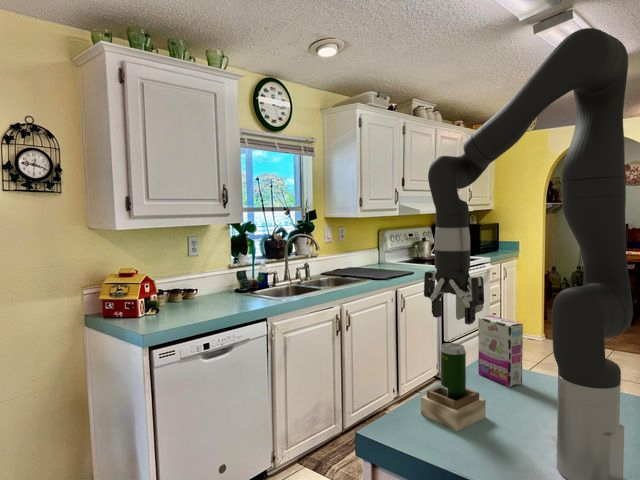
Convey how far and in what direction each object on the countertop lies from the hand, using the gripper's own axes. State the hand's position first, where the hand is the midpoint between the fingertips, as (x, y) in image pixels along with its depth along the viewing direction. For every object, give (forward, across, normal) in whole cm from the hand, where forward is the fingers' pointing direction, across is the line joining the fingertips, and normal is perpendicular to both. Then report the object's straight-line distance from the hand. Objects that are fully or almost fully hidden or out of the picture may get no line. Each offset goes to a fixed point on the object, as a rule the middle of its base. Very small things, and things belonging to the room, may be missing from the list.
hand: (452, 320), depth 98 cm
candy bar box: (+22, +5, -27) cm, 35 cm away
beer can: (+18, 0, 0) cm, 18 cm away
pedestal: (+22, 0, 0) cm, 22 cm away
